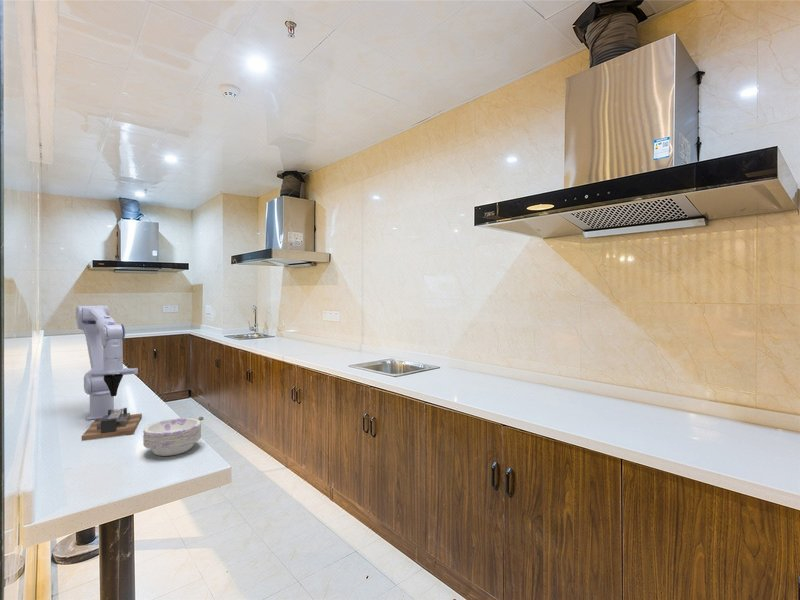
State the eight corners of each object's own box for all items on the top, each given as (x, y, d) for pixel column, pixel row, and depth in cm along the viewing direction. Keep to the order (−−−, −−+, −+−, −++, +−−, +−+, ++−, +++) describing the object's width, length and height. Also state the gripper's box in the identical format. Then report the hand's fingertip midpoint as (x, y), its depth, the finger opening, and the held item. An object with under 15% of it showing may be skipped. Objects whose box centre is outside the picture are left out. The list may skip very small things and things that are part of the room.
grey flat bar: (112, 413, 146) (112, 409, 146) (122, 412, 148) (122, 408, 148) (104, 424, 134) (104, 421, 134) (115, 423, 136) (115, 419, 136)
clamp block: (104, 419, 146) (104, 408, 145) (130, 417, 149) (130, 406, 149) (93, 434, 131) (93, 422, 131) (123, 430, 134) (122, 418, 134)
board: (96, 422, 147) (96, 418, 147) (141, 417, 153) (141, 413, 153) (81, 440, 129) (81, 436, 129) (133, 434, 135) (133, 429, 135)
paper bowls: (188, 437, 133) (188, 413, 133) (210, 449, 123) (210, 423, 123) (135, 451, 121) (135, 425, 121) (155, 465, 111) (155, 437, 111)
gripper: (85, 361, 138) (85, 400, 138) (135, 357, 144) (136, 395, 144) (90, 358, 144) (91, 396, 144) (138, 355, 151) (138, 391, 151)
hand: (113, 395), depth 145 cm, fingers closed
